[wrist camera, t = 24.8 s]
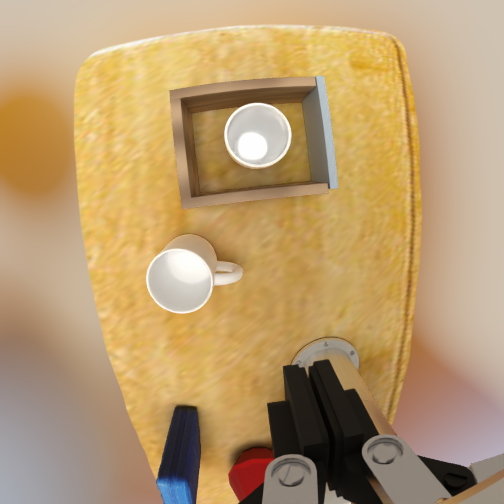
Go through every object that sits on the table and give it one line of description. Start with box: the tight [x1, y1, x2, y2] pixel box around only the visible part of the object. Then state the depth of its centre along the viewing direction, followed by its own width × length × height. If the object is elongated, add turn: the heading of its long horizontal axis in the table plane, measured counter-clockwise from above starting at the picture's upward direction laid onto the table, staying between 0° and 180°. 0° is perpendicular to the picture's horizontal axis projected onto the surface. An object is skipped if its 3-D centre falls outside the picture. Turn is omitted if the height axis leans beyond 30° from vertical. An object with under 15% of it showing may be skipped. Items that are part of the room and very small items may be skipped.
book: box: [156, 407, 201, 504], centre depth 46 cm, size 14×5×20 cm, turn 178°
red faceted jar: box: [228, 447, 275, 502], centre depth 49 cm, size 16×14×20 cm
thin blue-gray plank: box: [302, 76, 338, 189], centre depth 40 cm, size 14×1×10 cm, turn 7°
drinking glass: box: [224, 103, 292, 169], centre depth 37 cm, size 7×7×15 cm
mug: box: [146, 234, 244, 313], centre depth 43 cm, size 12×8×10 cm
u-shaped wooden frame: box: [170, 77, 328, 209], centre depth 39 cm, size 14×17×10 cm
